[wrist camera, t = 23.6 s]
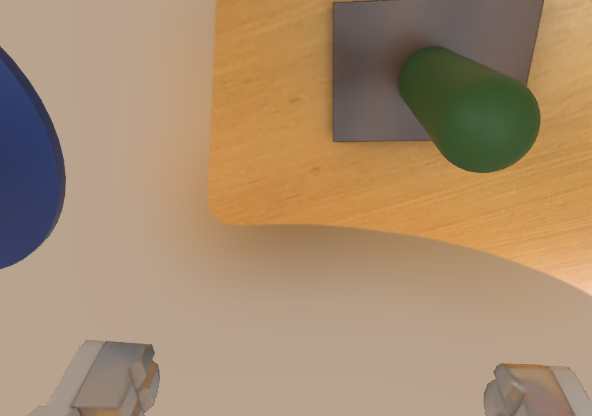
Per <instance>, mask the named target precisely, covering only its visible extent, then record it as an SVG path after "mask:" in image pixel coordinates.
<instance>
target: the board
mask: <svg viewBox="0 0 592 416" xmlns="http://www.w3.org/2000/svg"><path fill="white" fill-rule="evenodd" d="M543 3H544V0H373V1H351V2H333V142H370V141H432V139H431V138H430V137H429V135H428V134H427V132H426V131H425V130H424V128H423V127H422V125H421V124H420V122H419V121H418V120H417V118H416V117H415V115H414V114H413V113H412V111H411V110H410V108H409V107H408V106H407V104H406V103H405V101H404V100H403V98H402V97H401V95H400V92H399V87H398V79H399V74H400V71H401V69H402V67H403V65H404V63H405V62H406V61H407V59H408V58H409V57H410V56H411V55H413V54H414V53H415V52H417V51H419V50H421V49H423V48H427V47H433V46H436V47H443V48H446V49H448V50H451V51H453V52H455V53H457V54H460V55H462V56H464V57H467V58H469V59H471V60H473V61H476V62H478V63H480V64H483V65H485V66H487V67H489V68H492V69H494V70H496V71H499V72H501V73H503V74H505V75H508V76H510V77H512V78H514V79H516V80H518V81H520V82H521V83H522V84H524V85H525V86H527V81H528V76H529V71H530V66H531V61H532V56H533V52H534V47H535V42H536V37H537V32H538V27H539V22H540V17H541V13H542V8H543Z"/></svg>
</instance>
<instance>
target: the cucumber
mask: <svg viewBox="0 0 592 416" xmlns="http://www.w3.org/2000/svg"><path fill="white" fill-rule="evenodd" d="M398 87H399V92H400V95H401V97H402V98H403V100H404V101H405V103H406V104H407V106H408V107H409V108H410V110H411V111H412V113H413V114H414V115H415V117H416V118H417V120H418V121H419V122H420V124H421V125H422V127H423V128H424V130H425V131H426V132H427V134H428V135H429V137H430V138H431V139H432V141H433V142H434V144H435V145H436V146H437V148H438V149H439V151H440V152H441V153H442V154H443V156H444V157H445V158H446V159H447V160H448V161H449V162H451V163H452V164H453V165H455V166H457V167H459V168H461V169H463V170H466V171H470V172H476V173H489V172H494V171H498V170H502V169H504V168H507V167H509V166H511V165H513V164H514V163H516V162H517V161H519V160H520V159H521V158H522V157H523V156H524V155H525V154H526V153H527V152H528V151H529V150H530V148H531V147H532V145H533V144H534V142H535V140H536V138H537V135H538V132H539V127H540V110H539V107H538V103H537V101H536V99H535V97H534V95H533V94H532V93H531V91H530V90H529V89H528V88H527V87H526V86H525V85H524V84H522V83H521V82H520V81H518V80H516V79H514V78H512V77H510V76H508V75H505V74H503V73H501V72H499V71H496V70H494V69H492V68H489V67H487V66H485V65H483V64H480V63H478V62H476V61H473V60H471V59H469V58H467V57H464V56H462V55H460V54H457V53H455V52H453V51H451V50H448V49H446V48H443V47H436V46H433V47H427V48H423V49H421V50H419V51H417V52H415V53H414V54H413V55H411V56H410V57H409V58H408V59H407V61H406V62H405V63H404V65H403V67H402V69H401V71H400V74H399V79H398Z"/></svg>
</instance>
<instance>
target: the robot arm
mask: <svg viewBox="0 0 592 416" xmlns="http://www.w3.org/2000/svg"><path fill="white" fill-rule="evenodd" d="M154 354H155V353H154V350H153V346H152V344H138V343H123V342H110V341H97V340H86V341H85V342H84V343H83V344H82V345H81V346H80V347H79V349H78V351H77V352H76V354H75V356H74V358H73V359H72V361H71V363H70V365H69V366H68V368H67V370H66V372H65V374H64V375H63V377H62V379H61V380H60V382H59V384H58V386H57V387H56V389H55V391H54V393H53V394H52V396H51V398H50V400H49V401H48V403H47V405H46V406H38V407H37V408H36V409H34V410H33V411H32V412H31V413H29V414H28V415H27V416H144V413H145V412H146V411H147V410H148V409H149V408H151V407H152V406H153V405H154V402H155V399H156V396H157V392H158V387H159V380H160V375H159V368H158V364H156V363H155V362H153V361H152V359H153V356H154ZM494 375H495V378H496V379H495V380H493V381H492V382H490V383H488V385H487V387H486V390H485V392H484V408H485V413H486V416H592V402H591V400H590V399H589V397H588V395H587V393H586V392H585V390H584V388H583V386H582V385H581V383H580V381H579V379H578V378H577V376H576V374H575V373H574V372H573V371H572V370H571V369H570V368H568V367H559V366H543V365H527V364H499V365H498V366H497V367H496V369H495V370H494Z"/></svg>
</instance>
